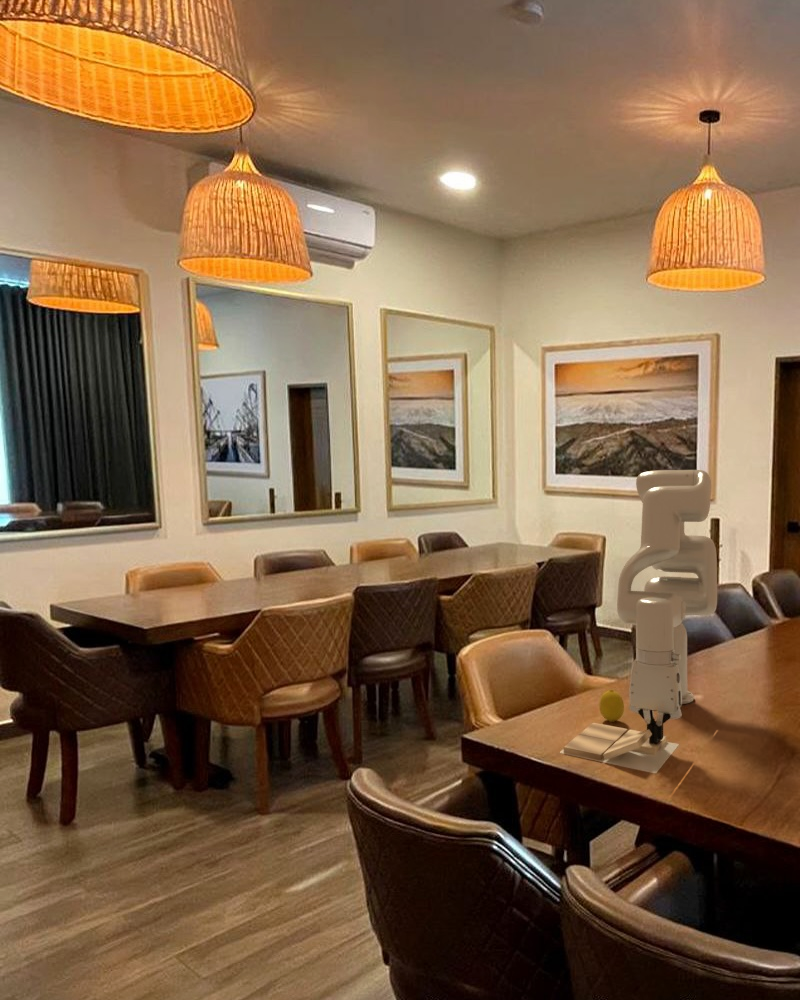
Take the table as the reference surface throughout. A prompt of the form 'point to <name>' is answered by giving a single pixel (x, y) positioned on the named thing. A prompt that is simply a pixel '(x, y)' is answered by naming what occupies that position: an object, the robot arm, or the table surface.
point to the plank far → (646, 743)
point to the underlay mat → (640, 758)
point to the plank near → (627, 744)
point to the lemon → (611, 705)
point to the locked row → (594, 741)
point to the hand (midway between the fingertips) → (655, 741)
